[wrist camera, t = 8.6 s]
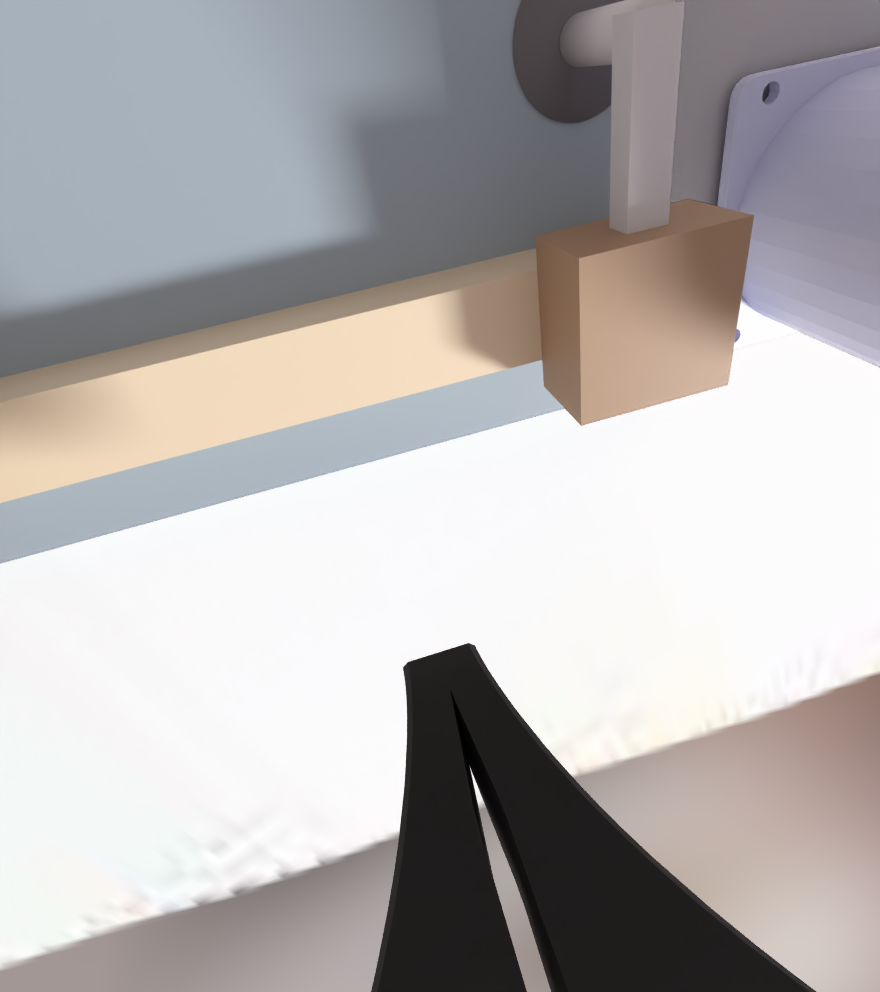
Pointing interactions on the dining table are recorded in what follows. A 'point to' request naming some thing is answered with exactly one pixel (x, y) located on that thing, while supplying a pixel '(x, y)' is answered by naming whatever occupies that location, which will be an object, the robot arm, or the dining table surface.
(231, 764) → the dining table surface
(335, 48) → the gauge board
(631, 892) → the robot arm
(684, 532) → the dining table surface
